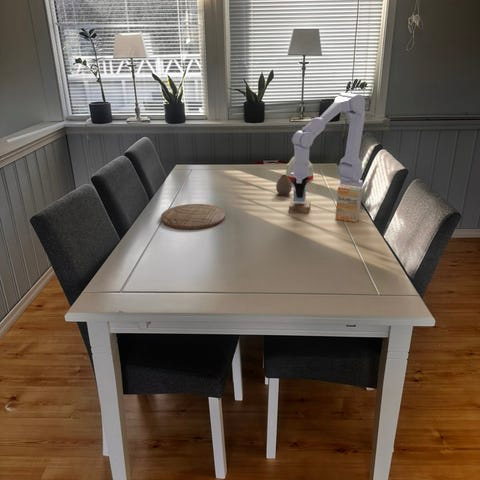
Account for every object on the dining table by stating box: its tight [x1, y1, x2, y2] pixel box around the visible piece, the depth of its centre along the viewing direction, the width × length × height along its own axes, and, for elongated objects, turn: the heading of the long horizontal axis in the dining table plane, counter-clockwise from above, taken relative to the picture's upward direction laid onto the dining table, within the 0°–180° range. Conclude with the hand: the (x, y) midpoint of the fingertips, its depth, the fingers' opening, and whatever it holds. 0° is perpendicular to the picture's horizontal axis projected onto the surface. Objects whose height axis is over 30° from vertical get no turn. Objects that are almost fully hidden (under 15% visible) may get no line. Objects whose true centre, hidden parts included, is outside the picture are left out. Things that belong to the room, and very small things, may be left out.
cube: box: [292, 187, 307, 202], centre depth 181 cm, size 4×4×4 cm
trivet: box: [160, 203, 226, 231], centre depth 176 cm, size 25×25×2 cm
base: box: [288, 199, 311, 214], centre depth 183 cm, size 8×8×3 cm
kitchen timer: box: [285, 156, 314, 181], centre depth 224 cm, size 14×14×15 cm
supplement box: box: [334, 184, 363, 223], centre depth 170 cm, size 8×5×13 cm, turn 62°
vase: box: [275, 174, 293, 196], centre depth 201 cm, size 7×7×9 cm
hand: (300, 195), depth 181 cm, fingers closed on cube, 4 cm apart
